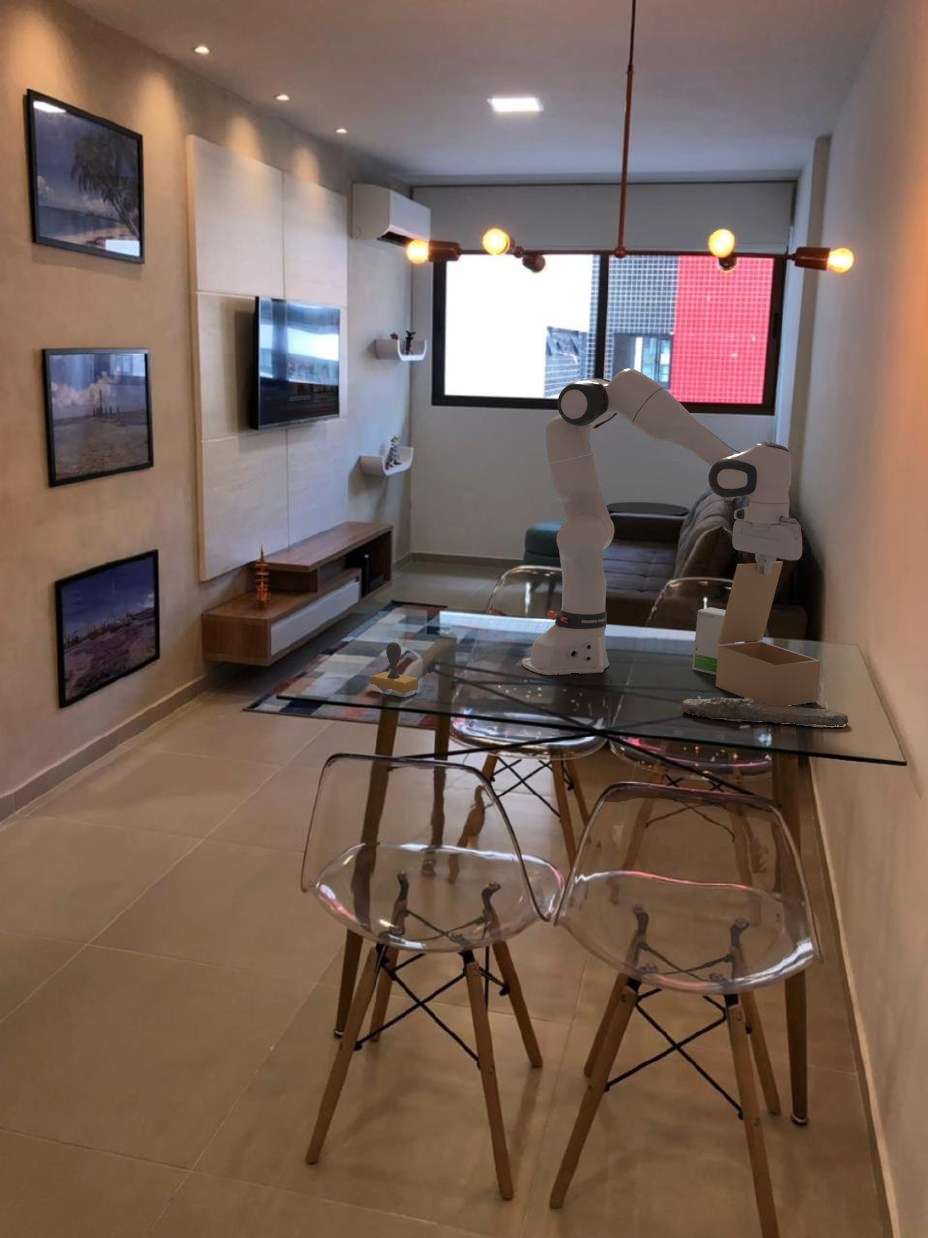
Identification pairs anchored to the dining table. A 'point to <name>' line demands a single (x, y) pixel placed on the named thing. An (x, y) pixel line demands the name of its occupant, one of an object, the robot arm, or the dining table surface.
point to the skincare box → (708, 639)
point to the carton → (767, 673)
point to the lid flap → (749, 604)
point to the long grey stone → (761, 712)
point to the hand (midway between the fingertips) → (764, 574)
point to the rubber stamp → (394, 673)
